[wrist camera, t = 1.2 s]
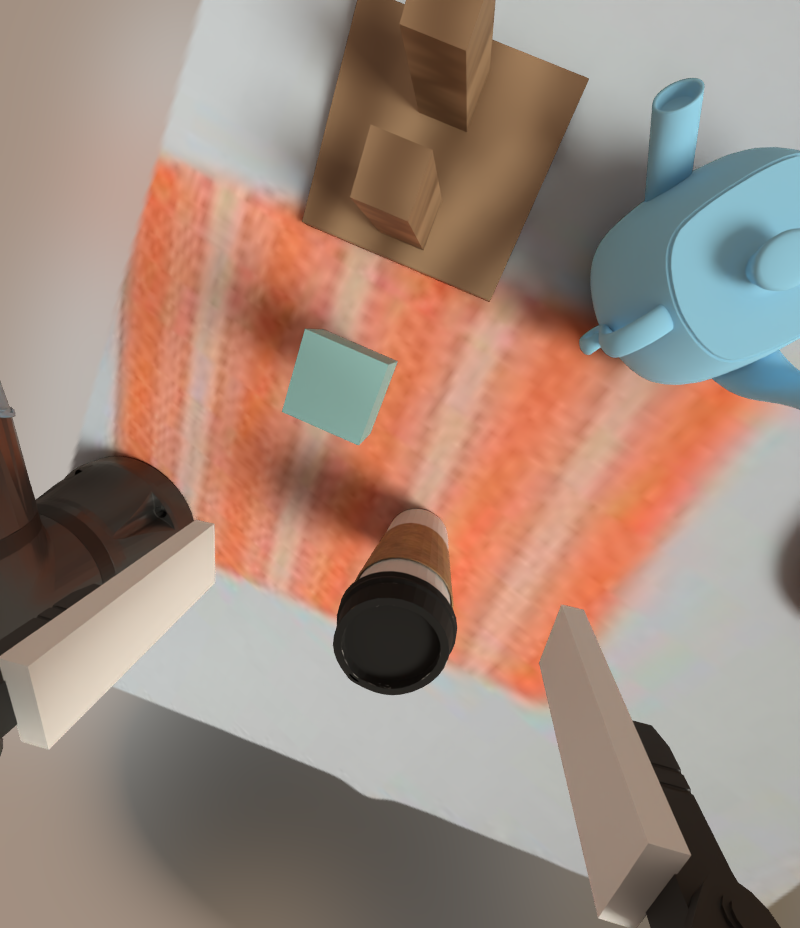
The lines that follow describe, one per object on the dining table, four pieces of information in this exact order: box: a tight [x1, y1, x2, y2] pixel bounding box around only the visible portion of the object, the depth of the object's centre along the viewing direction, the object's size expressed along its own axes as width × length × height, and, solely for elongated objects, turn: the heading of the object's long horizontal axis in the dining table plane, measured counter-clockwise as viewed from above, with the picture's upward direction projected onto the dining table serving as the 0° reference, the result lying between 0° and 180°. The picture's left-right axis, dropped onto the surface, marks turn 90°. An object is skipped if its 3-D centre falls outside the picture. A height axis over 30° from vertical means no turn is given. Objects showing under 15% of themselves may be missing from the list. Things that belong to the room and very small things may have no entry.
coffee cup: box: [333, 509, 457, 695], centre depth 31 cm, size 8×8×15 cm
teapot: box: [579, 78, 800, 410], centre depth 22 cm, size 15×14×11 cm
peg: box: [282, 329, 398, 445], centre depth 29 cm, size 6×6×10 cm
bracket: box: [302, 0, 589, 302], centre depth 24 cm, size 16×14×9 cm
